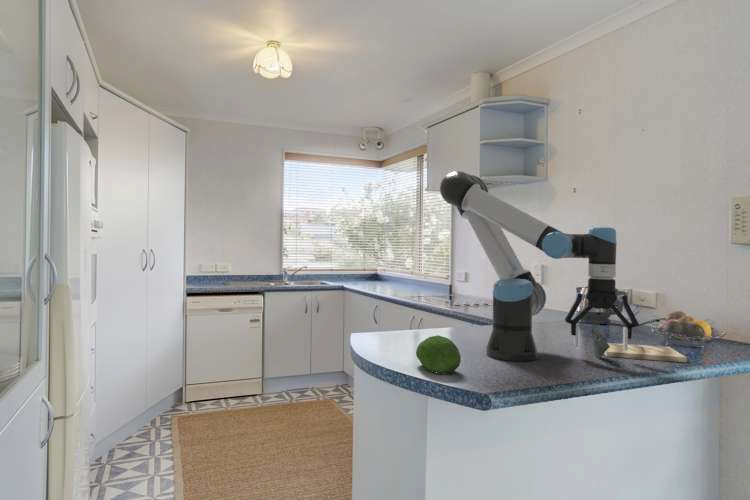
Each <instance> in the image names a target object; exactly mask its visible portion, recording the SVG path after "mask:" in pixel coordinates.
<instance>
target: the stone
mask: <svg viewBox="0 0 750 500" xmlns="http://www.w3.org/2000/svg"><path fill="white" fill-rule="evenodd" d="M591 337H592V345H593V346H592V347H593V348H592V351H593V355H594V356H595V358H596V359H601V358H602V357H603V356H604V355H605V354H604V353H605V351H606V350H607V349H608V348H610V346H609V344H608V343H609V342H608V341H607V339H606V336H604V335H603V334H602V332H601V331H600V330H599V329H598V328H597V327H596V325H593V327H592V329H591Z"/></svg>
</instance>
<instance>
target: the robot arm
mask: <svg viewBox="0 0 750 500" xmlns="http://www.w3.org/2000/svg"><path fill="white" fill-rule="evenodd" d="M439 188H440V189H439V191H440V195H441V197H442V199H443V200H444V201H445V203H448V204H450V205H452V206H455V207H456V209H457V210H458V213H459V215H460V216H461V218H463V219H464V220H468V223H469V224H470V226H471V229H472V230H473V232H474V234H475V236H476V238H477V240H478V241H479V243H480V245H481V247H482V248H483V251H484V252H485V255H486V256H487V258H488V260H489V263H491V265H492V267H493V270H494V272H495V273H496V276H497V277H498V280H497V281H495V282H494V284H493V288H492V331H491V333H490V336H489V339H488V342H487V345H486V351H485V353H486V356H488V357H490V358H493V359H496V360H502V361H509V362H529V361H530V362H531V361H535V360H537V359H538V353H539V352H538V348H537V345H536V341H535V338H534V336H533V335H534V334H533V317H534V316H536V315H537V314H539V313H540V312H541V311H542V310H543V308H544V307H545V304H546V302H547V294H546V290H545V289H544V287H543V286H542V285H541V284H540V283H539V282H538V281H536V279H535V277H534V275H533V274H532V272H531V271H530V270H529V269H526V268H524V267H523V266H522V264H521V262H520V260H519V258H518V256H517V255H516V253H515V251H514V249H513V247H512V245H511V243H510V241H509V240H508V238H507V236H506V235H505V233H504V231H503V230H505V231H506V232H508V233H510V234H511V235H514V236H516V237H517V238H519V239H520V240H523V241H524V242H526V243H528V244H529V245H532V246H533V247H535V248H537V249H538V250H540V251H542V252H543V253H544V254H545V255H546V256H548V257H549V258H551V259H555V260H556V259H557V260H558V259H588V267H587V268H588V272H587V274H588V275H587V276H588V277H589V278H588V279H587V293H580V292H577V293H576V296H575V301H574V302H573V304H572V306H571V307H570V309H569V311H568V313H567V315H566V316H565V318H564V321H565V322H566V323H568V324H570V334H571V336H574V341H573V342H574V346H575V348H578V347H579V332H580V331H579V329H580V327H579V324H578V323H579V322H580V320H582V319H583V318H584V317H585V316H586V315H587V314H588V313H589V311H591V310H592V309H593V308H594V309H597V310H599V309H603V310H609V309H610V310H611V311H612V312H613V313H614V314H615V315H616V317H617V318H618V319H619V320H620V321H621V322H622V323H623V324H624V326H623V327H622V344H623V349H624V350H628V344H629V343H628V342H629V340H631V339H632V337H633V336H632V334H633V333H632V332H633V331H632V330H633V328H636V327H639V325H640V324H639V322H638V320H637V317H636V315H635V314H634V312H633V310H632V308H631V306H630V305H629V302H628V296H627V295H626V294H621V295H617V294H616V280H615V279H614V278H616V268H617V266H616V265H617V263H616V261H617V232H616V229H615V228H614V227H608V226H607V227H601V226H600V227H590V228H589V230H588V233H583V234H581V233H580V234H578V233H566V232H565V233H564V232H562V231H561V230H558V229H556V227H553V226H551V225H549V224H548V223H546V222H544V221H542V220H540V219H537V218H536V217H534V216H532V215H531V214H528V213H527V212H525V211H522V210H521V209H520V208H517V207H515V206H513V205H512V204H510V203H508V202H505V200H502V199H501V198H498V197H497V196H495V195H493V194H491V193H489V188H488V186H487V183H486V182H484V181H483V180H482V178H480V177H479V176H476V175H473V174H468V173H466V172H464V171H459V170H454V171H451V172H449V173H448V174H445V176H444V177H443V178H442V180H441V182H440V185H439ZM585 299H587V301H588V303H587V304H586V305H585V306H584V307H583V308H582V309H581V310H580V312H578V313H577V315H576V316H575V313H576V311H577V310H578V308H579V306H580V304H581V302H582V301H584V300H585ZM617 300H618V302H620V303H621V304H622V306H623V308H624V311H625V312H626V314H627V316H628V318H629V320H630V322H629V320H628V319H627V318H626V317H625V316H624V315H623V314H622V312H621V311H620V309H618V307H617V306H616V305H615V304H614V303H615V302H616V301H617ZM572 318H573V319H572Z"/></svg>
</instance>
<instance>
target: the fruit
mask: <svg viewBox="0 0 750 500" xmlns="http://www.w3.org/2000/svg"><path fill="white" fill-rule="evenodd" d="M460 353H461V352H460V350H459V349H458V347H457V345H456V344H455V342H454V341H452V340H451V339H450V338H448V337H445V336H441V335H432V336H428V337H427V338H426V339H424V340H423V341H421V342H420V343H419V344H418V346H417V348H416V350H415V354H416V355H415V356H416V357H417V359H418V360H419V362H420V364H421V366H423V367H424V368H425V369H426V370H427V369H428V370H427V371H429V370H430V371H433V372H437V373H450V374H452V373H454V372H455V371H456V370H457V369H458V368H459V367H460V364H461V361H462V360H461V359H462V358H461V354H460ZM430 371H429V372H430ZM433 372H432V373H433ZM437 373H436V374H437Z"/></svg>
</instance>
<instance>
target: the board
mask: <svg viewBox="0 0 750 500" xmlns="http://www.w3.org/2000/svg"><path fill="white" fill-rule="evenodd" d="M607 343H608V344H609V346H610V348H608V349H607V350H606V351H605V353H604V354H603V355H605V357H609V358H610V357H611V358H623V359H634V360H635V359H636V360H649V361H662V362H663V361H664V362H676V363H678V362H679V363H688V362H687V360H688V358H687V356H685V355H684V354H682V353H680V352H678V351H677V350H675V349H674V348H672V347H670V346H659V345H646V344H645V345H644V344H633V343H632V344H629V343H628V350H624V349H623V343H613V342H607Z"/></svg>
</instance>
